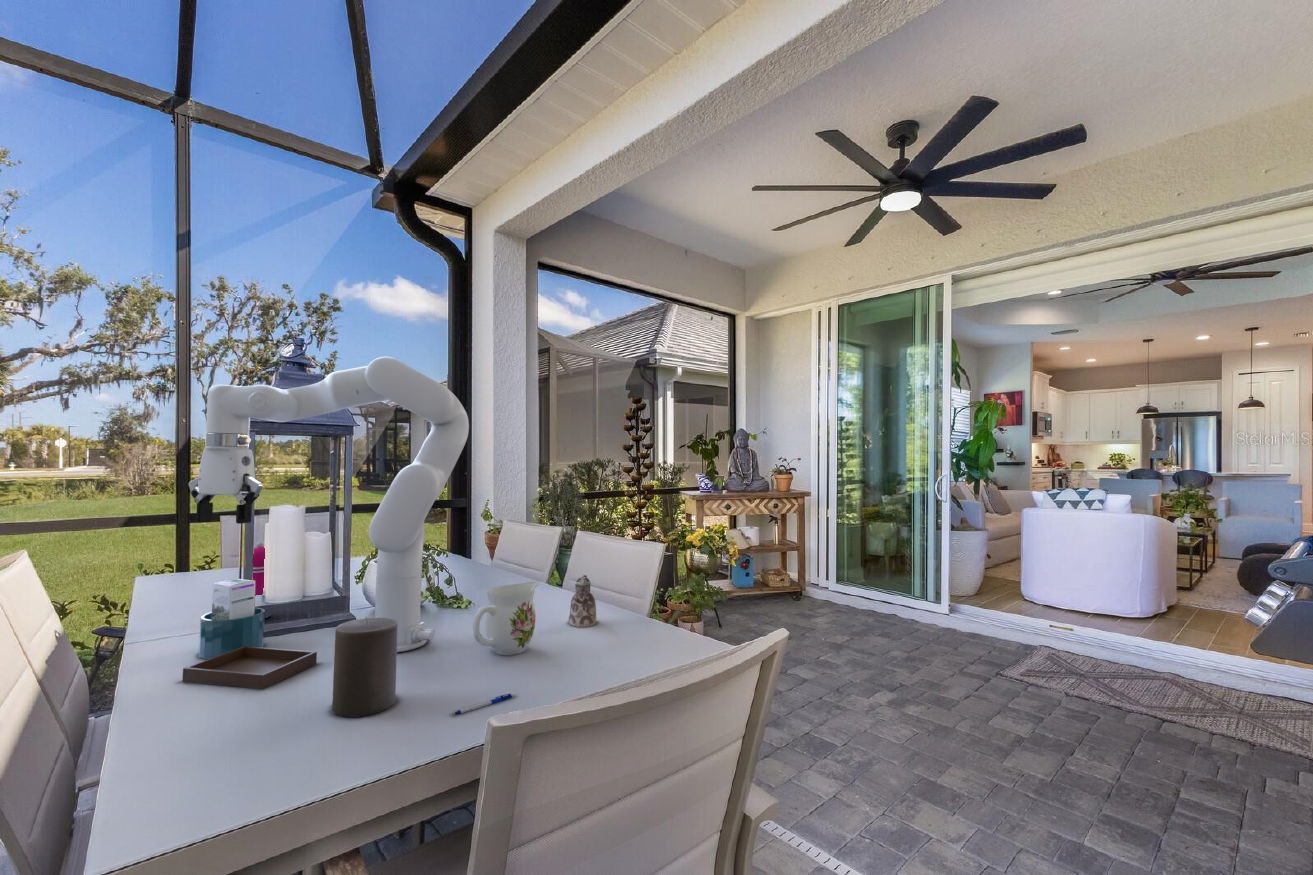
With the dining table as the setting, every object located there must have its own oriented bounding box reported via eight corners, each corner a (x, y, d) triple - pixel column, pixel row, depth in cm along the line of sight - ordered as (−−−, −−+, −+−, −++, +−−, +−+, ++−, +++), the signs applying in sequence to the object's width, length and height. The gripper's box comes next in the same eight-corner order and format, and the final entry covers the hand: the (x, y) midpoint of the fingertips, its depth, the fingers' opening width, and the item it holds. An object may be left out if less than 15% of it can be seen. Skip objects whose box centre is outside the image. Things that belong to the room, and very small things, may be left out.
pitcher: (456, 657, 122) (458, 592, 123) (519, 636, 137) (521, 578, 138) (490, 668, 116) (492, 600, 117) (553, 645, 131) (554, 585, 132)
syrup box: (254, 645, 126) (257, 579, 127) (227, 654, 121) (230, 584, 121) (236, 642, 128) (239, 577, 129) (208, 650, 123) (211, 582, 123)
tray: (316, 664, 117) (317, 651, 117) (262, 689, 104) (263, 675, 104) (243, 658, 120) (244, 646, 120) (182, 681, 107) (182, 668, 107)
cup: (275, 644, 129) (277, 608, 129) (231, 661, 118) (232, 622, 118) (232, 641, 131) (234, 605, 131) (184, 657, 120) (186, 618, 120)
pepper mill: (256, 622, 145) (260, 543, 146) (233, 620, 147) (236, 542, 148) (280, 615, 152) (283, 539, 153) (258, 613, 154) (261, 538, 155)
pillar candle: (353, 723, 91) (356, 628, 92) (320, 708, 97) (323, 618, 97) (407, 701, 100) (410, 614, 100) (374, 689, 105) (377, 606, 105)
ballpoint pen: (509, 697, 103) (510, 691, 103) (512, 698, 102) (512, 693, 102) (454, 715, 95) (454, 709, 95) (457, 717, 95) (457, 710, 95)
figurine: (565, 625, 147) (566, 578, 147) (573, 618, 154) (574, 573, 154) (591, 627, 146) (592, 580, 146) (599, 620, 153) (600, 574, 153)
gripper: (277, 443, 126) (273, 521, 125) (209, 442, 128) (205, 519, 128) (247, 442, 118) (243, 525, 118) (176, 441, 121) (172, 522, 120)
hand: (223, 522), depth 123 cm, fingers open, 9 cm apart
